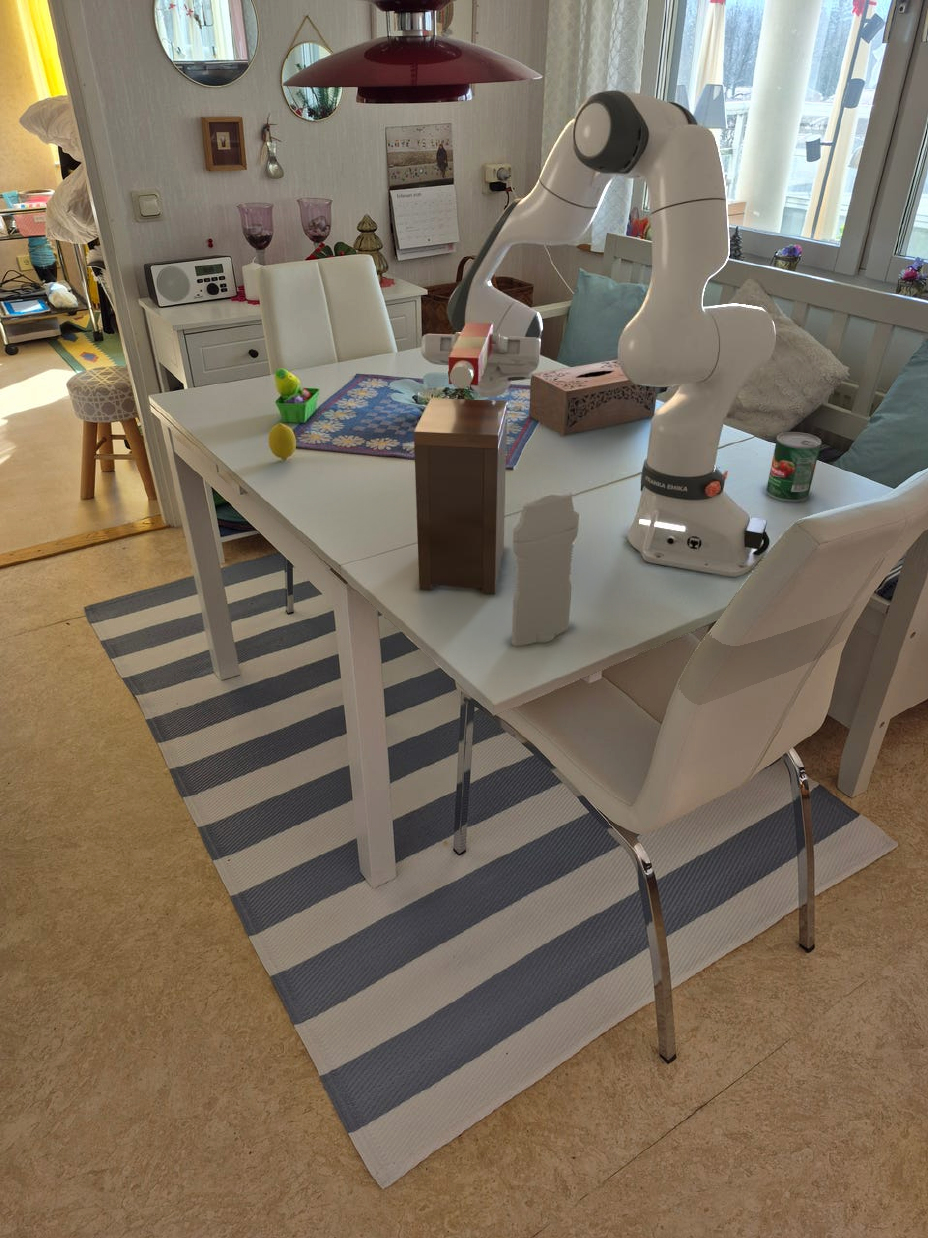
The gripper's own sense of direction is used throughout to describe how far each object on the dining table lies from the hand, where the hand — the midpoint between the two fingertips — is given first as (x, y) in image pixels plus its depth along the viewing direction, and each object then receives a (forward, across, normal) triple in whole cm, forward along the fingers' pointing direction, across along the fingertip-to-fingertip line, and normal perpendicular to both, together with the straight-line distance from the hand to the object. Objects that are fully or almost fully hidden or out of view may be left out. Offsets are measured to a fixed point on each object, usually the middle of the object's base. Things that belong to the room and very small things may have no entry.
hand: (477, 337), depth 139 cm
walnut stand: (0, 0, +38) cm, 38 cm away
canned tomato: (-32, +58, +19) cm, 69 cm away
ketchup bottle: (+6, 0, +6) cm, 9 cm away
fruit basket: (-59, -48, +4) cm, 77 cm away
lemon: (-36, -43, +17) cm, 59 cm away
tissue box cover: (-67, +21, -1) cm, 70 cm away
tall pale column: (+16, +14, +47) cm, 51 cm away
